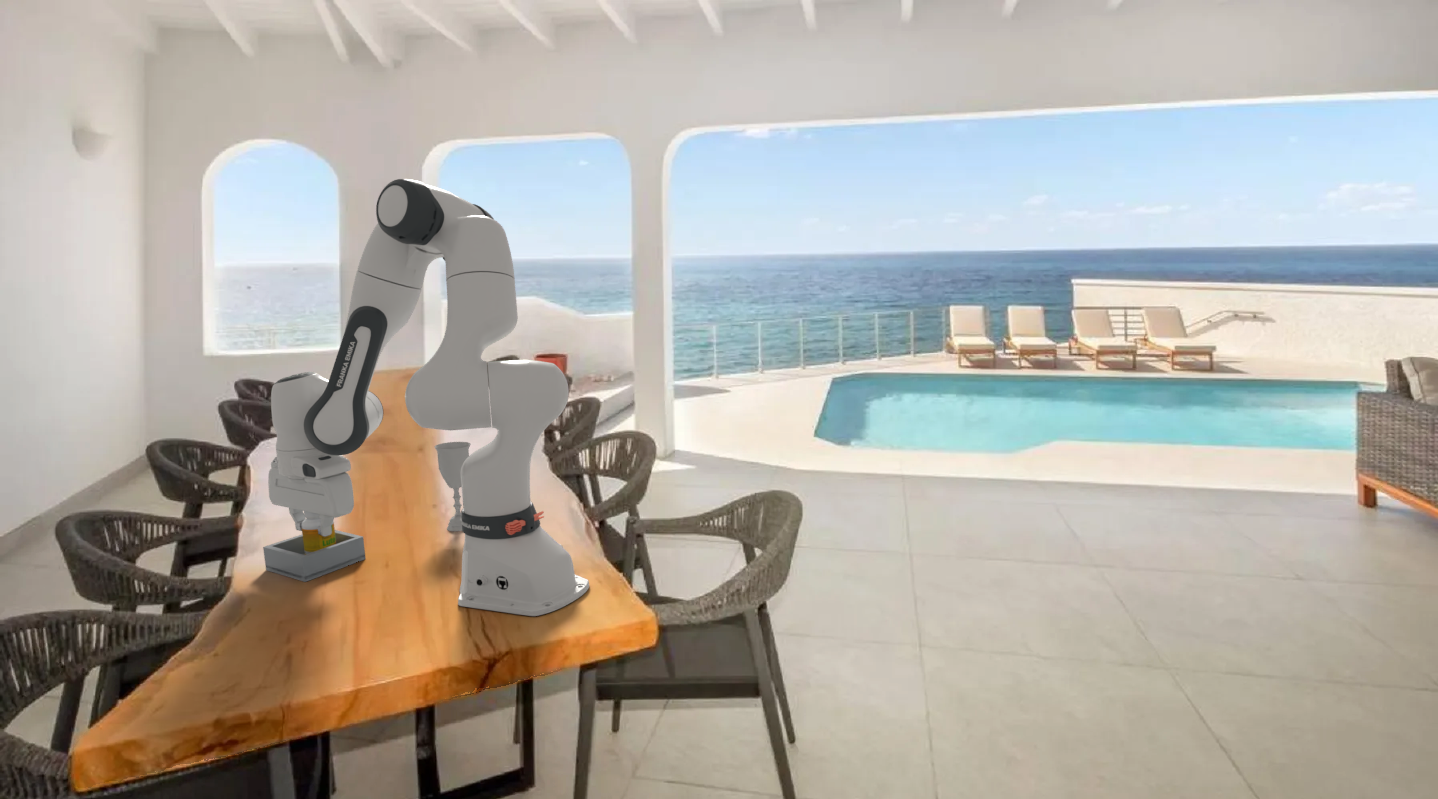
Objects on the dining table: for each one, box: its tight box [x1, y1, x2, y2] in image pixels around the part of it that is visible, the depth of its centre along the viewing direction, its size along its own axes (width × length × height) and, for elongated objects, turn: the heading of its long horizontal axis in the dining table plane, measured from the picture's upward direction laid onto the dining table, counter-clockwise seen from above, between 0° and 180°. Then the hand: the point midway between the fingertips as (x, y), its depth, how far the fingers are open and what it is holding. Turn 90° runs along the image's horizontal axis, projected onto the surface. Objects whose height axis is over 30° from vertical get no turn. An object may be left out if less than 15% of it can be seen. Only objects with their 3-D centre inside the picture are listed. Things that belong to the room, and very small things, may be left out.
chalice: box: [434, 441, 471, 532], centre depth 159 cm, size 7×7×18 cm
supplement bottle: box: [301, 511, 336, 555], centre depth 141 cm, size 5×5×10 cm
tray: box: [262, 529, 366, 583], centre depth 141 cm, size 12×12×4 cm
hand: (314, 532), depth 140 cm, fingers closed on supplement bottle, 5 cm apart
